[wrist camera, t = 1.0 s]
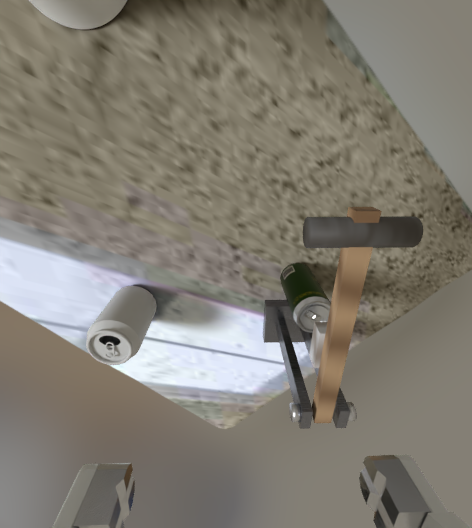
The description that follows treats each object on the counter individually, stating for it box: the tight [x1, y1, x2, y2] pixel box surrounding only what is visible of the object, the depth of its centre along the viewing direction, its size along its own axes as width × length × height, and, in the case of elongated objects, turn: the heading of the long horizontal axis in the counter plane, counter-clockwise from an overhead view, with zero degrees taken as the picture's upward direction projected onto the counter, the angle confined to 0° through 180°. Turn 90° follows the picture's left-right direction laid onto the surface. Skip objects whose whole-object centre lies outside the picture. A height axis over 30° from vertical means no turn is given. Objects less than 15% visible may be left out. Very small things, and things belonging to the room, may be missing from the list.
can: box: [86, 286, 157, 365], centre depth 42 cm, size 8×8×12 cm
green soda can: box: [280, 263, 331, 333], centre depth 40 cm, size 5×5×12 cm
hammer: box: [303, 207, 423, 423], centre depth 28 cm, size 26×9×4 cm, turn 0°
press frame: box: [263, 300, 357, 428], centre depth 40 cm, size 8×10×20 cm
